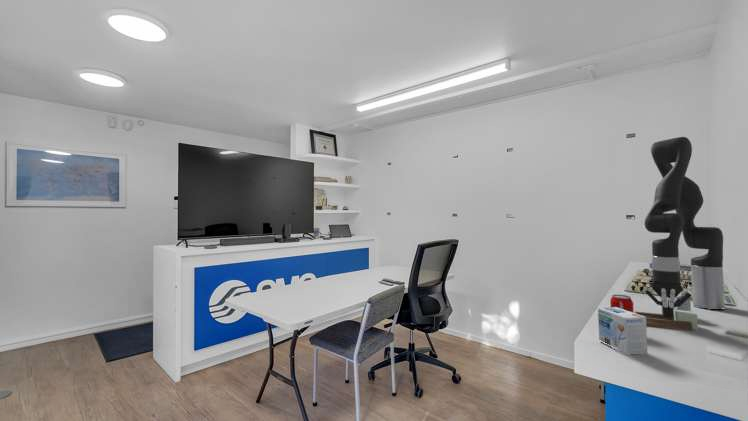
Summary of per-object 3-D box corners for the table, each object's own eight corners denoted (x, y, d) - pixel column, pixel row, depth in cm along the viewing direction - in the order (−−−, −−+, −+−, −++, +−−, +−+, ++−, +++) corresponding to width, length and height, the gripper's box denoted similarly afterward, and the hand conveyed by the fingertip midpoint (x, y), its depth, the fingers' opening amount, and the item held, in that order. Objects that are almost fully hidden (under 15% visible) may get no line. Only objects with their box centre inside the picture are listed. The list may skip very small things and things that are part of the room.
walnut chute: (635, 318, 124) (634, 311, 124) (684, 323, 117) (684, 316, 117) (639, 324, 117) (639, 317, 117) (692, 330, 110) (691, 323, 110)
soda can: (630, 329, 113) (628, 294, 113) (638, 335, 107) (636, 299, 107) (608, 327, 115) (607, 293, 115) (615, 334, 109) (613, 298, 109)
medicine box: (692, 320, 120) (690, 296, 121) (677, 319, 121) (676, 296, 121) (676, 313, 128) (675, 291, 128) (663, 313, 129) (662, 291, 129)
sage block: (674, 323, 117) (673, 309, 117) (693, 325, 114) (692, 311, 115) (678, 327, 113) (677, 313, 113) (697, 330, 110) (697, 315, 110)
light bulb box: (598, 341, 103) (596, 307, 103) (617, 340, 104) (616, 306, 104) (627, 356, 93) (625, 317, 93) (649, 354, 93) (647, 316, 93)
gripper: (687, 268, 116) (689, 317, 116) (640, 266, 123) (642, 312, 123) (694, 271, 110) (696, 323, 110) (644, 269, 117) (646, 317, 117)
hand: (667, 317), depth 116 cm, fingers closed
